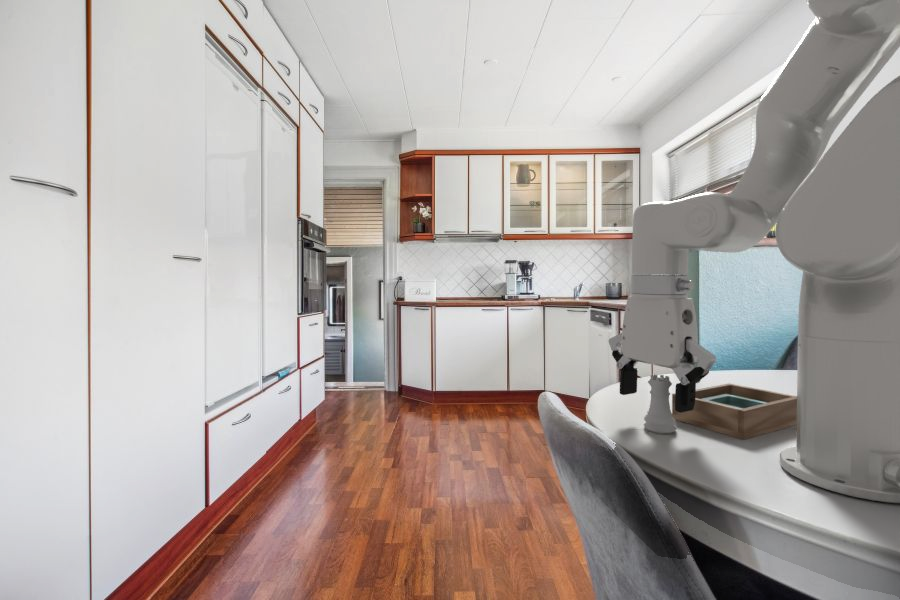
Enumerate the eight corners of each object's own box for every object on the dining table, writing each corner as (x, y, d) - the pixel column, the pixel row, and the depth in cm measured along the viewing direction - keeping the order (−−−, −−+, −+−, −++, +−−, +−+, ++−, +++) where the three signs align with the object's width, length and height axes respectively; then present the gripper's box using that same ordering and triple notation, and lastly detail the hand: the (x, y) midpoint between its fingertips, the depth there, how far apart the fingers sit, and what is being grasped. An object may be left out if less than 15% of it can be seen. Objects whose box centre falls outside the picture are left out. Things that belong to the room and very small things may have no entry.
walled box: (801, 423, 67) (802, 397, 67) (743, 439, 61) (744, 411, 60) (729, 405, 77) (729, 383, 77) (672, 418, 70) (672, 393, 70)
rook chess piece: (669, 425, 67) (669, 373, 67) (681, 435, 63) (682, 379, 63) (639, 424, 68) (639, 373, 67) (649, 434, 63) (649, 379, 63)
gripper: (733, 289, 59) (728, 415, 60) (628, 286, 74) (625, 385, 75) (697, 290, 55) (692, 423, 56) (595, 286, 71) (593, 390, 72)
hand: (654, 401), depth 66 cm, fingers open, 9 cm apart
